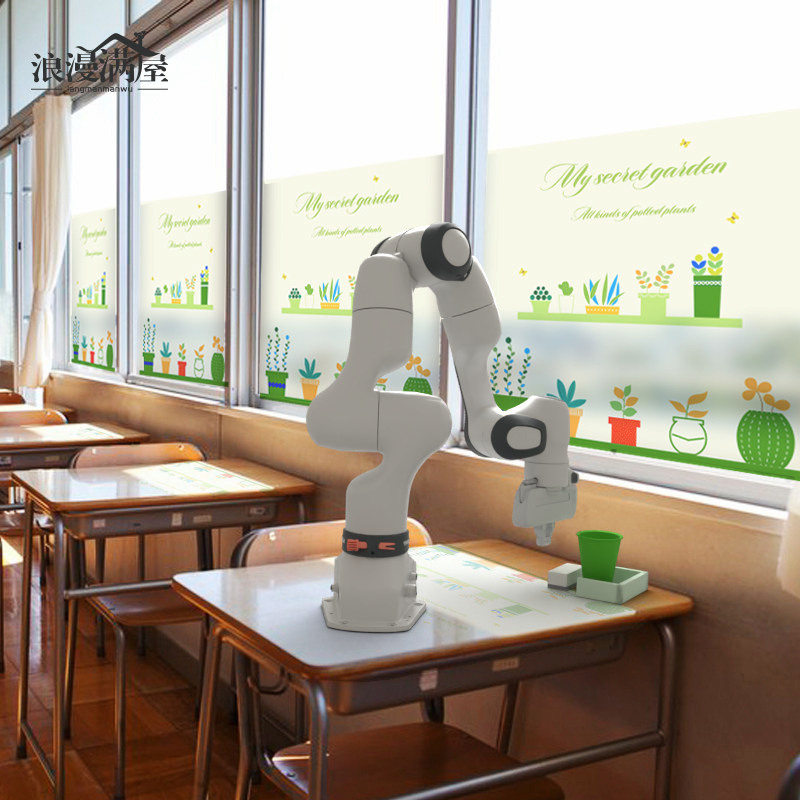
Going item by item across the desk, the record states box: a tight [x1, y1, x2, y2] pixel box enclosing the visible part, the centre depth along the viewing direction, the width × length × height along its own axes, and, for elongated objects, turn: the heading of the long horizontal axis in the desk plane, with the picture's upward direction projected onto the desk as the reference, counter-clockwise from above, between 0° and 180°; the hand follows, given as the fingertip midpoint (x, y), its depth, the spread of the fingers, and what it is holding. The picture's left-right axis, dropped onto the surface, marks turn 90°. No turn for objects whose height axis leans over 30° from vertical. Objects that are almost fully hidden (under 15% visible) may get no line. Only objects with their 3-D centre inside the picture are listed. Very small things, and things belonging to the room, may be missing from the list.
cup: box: [575, 529, 624, 583], centre depth 204 cm, size 9×9×11 cm
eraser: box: [547, 562, 583, 592], centre depth 208 cm, size 9×4×4 cm, turn 147°
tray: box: [575, 566, 649, 605], centre depth 203 cm, size 14×9×4 cm, turn 146°
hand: (543, 545), depth 209 cm, fingers closed
